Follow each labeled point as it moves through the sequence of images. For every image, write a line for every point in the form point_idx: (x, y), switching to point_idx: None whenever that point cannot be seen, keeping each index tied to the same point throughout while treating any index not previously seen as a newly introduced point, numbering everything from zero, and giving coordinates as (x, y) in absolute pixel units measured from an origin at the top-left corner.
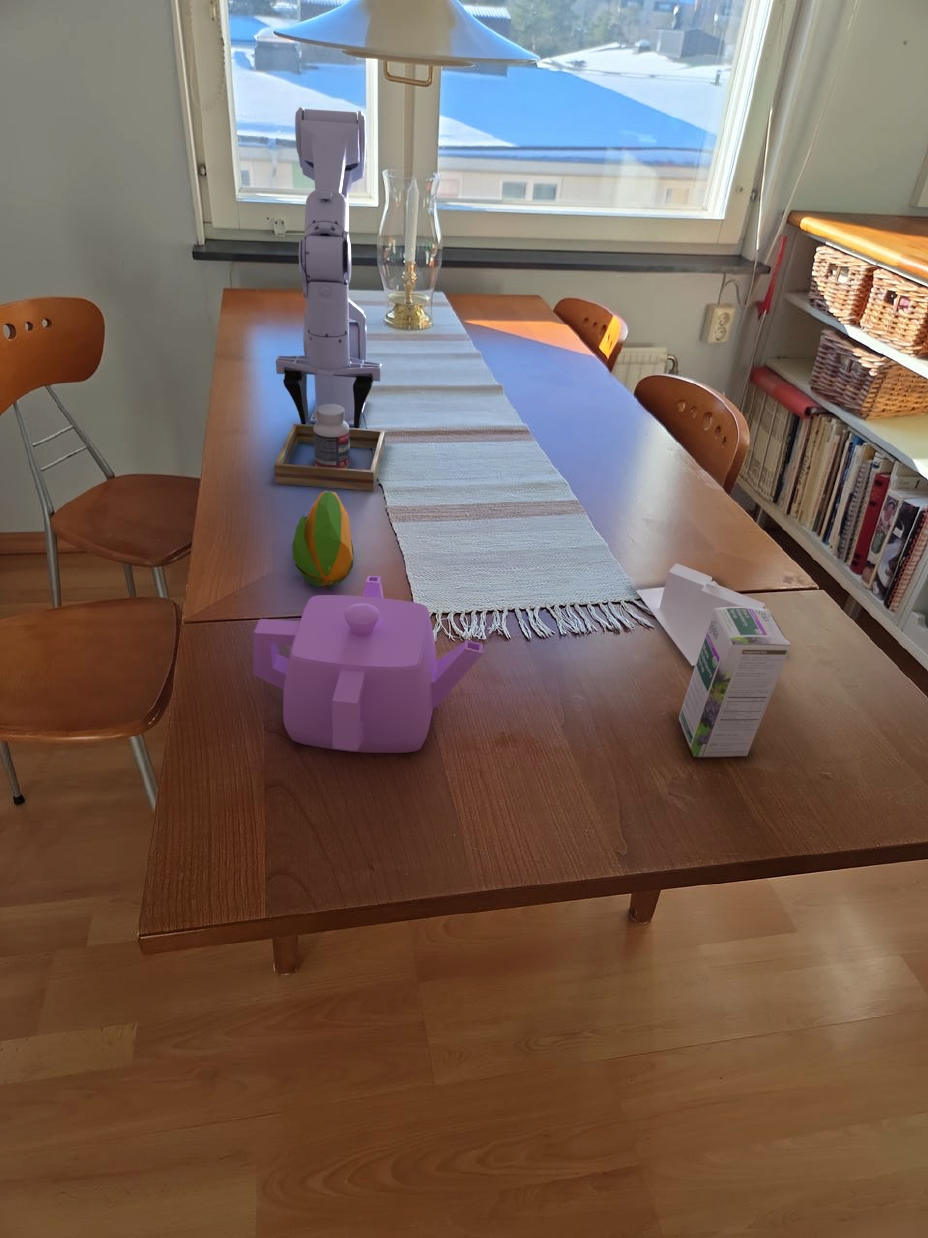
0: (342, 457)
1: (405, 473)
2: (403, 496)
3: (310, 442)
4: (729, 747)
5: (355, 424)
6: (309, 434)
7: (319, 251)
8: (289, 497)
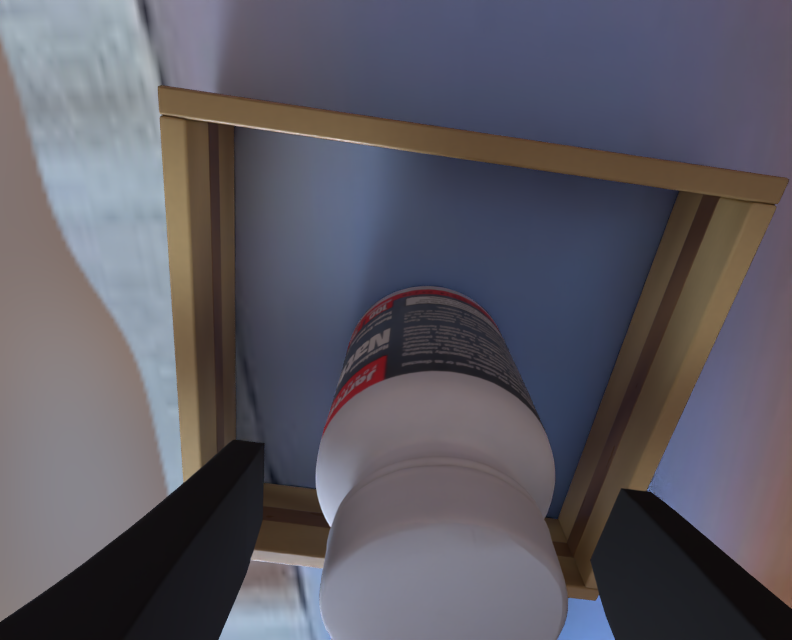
0: (372, 324)
1: (97, 286)
2: (50, 37)
3: None
4: None
5: (239, 456)
6: None
7: None
8: (658, 10)
